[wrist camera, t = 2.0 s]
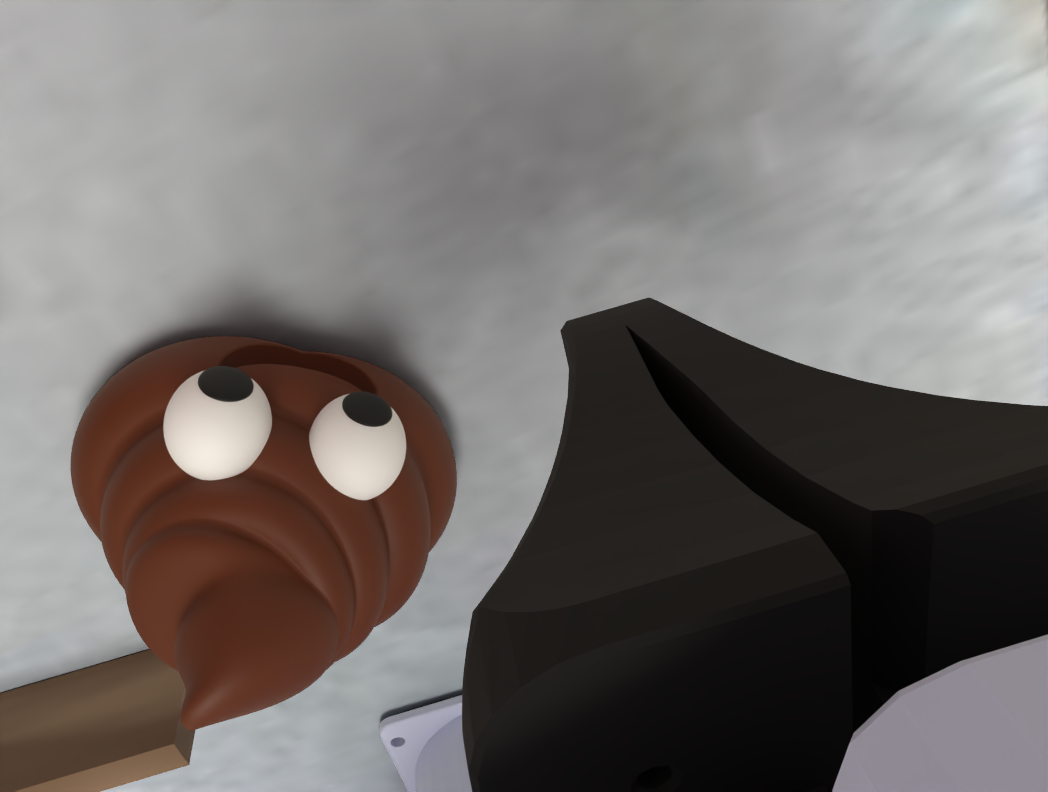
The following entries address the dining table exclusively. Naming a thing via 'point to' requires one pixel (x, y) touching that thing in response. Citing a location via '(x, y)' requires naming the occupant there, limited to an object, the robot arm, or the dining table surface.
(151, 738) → the frame
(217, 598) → the poop emoji
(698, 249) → the dining table surface
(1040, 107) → the dining table surface
